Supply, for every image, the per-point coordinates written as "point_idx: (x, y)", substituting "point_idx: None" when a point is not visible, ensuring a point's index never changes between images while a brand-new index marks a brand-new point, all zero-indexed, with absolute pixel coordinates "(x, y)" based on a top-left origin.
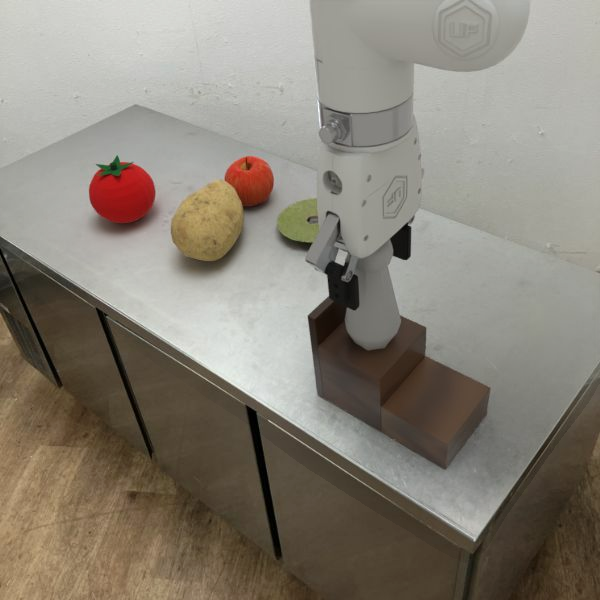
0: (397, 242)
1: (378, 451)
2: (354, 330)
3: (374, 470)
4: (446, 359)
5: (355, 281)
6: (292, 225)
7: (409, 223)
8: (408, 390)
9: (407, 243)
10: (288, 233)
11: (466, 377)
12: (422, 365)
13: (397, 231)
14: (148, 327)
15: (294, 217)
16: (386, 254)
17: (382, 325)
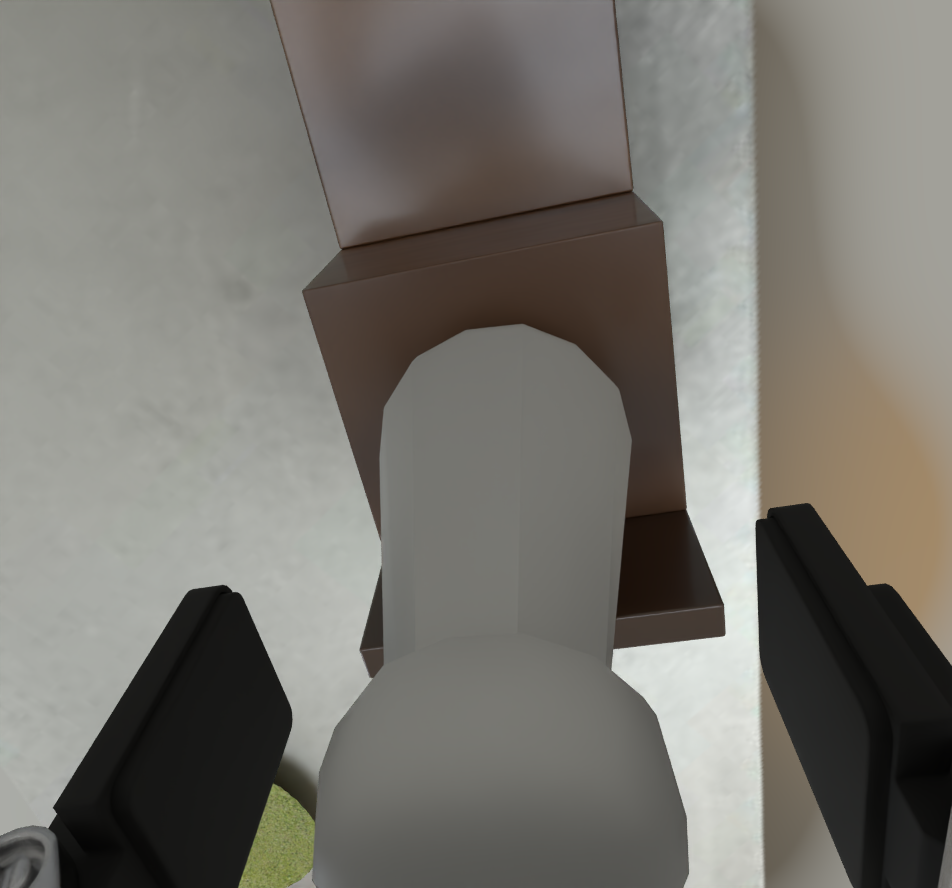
0: (215, 728)
1: (676, 121)
2: (629, 454)
3: (742, 74)
4: (246, 236)
5: (928, 692)
6: (278, 849)
7: (46, 843)
8: (505, 173)
9: (166, 685)
10: (306, 838)
11: (293, 53)
12: (381, 223)
13: (174, 818)
14: (761, 818)
15: (255, 864)
16: (481, 738)
17: (551, 379)
